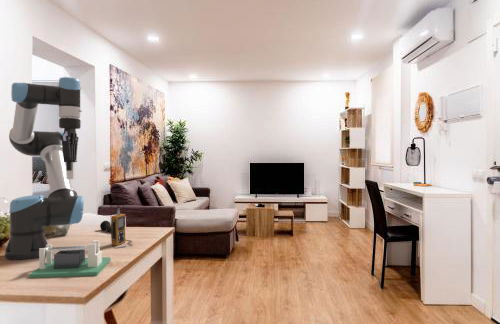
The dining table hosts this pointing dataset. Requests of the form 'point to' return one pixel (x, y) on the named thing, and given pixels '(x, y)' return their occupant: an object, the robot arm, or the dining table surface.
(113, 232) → the multimeter
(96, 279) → the dining table surface
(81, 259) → the heat sink
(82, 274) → the circuit board
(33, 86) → the robot arm
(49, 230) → the ceramic sculpture
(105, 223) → the microphone
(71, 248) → the clamp bar
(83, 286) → the dining table surface
